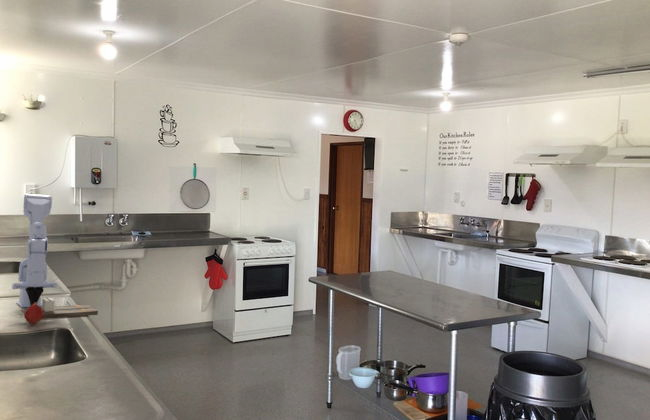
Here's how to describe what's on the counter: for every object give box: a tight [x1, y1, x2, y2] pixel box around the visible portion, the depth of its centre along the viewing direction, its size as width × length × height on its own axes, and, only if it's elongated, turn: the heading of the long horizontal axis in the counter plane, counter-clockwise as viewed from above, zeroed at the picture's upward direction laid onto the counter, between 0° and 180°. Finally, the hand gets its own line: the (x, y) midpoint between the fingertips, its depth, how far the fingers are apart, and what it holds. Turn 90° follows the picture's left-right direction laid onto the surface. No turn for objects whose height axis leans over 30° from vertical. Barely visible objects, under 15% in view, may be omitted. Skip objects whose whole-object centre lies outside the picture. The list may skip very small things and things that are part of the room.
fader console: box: [40, 304, 99, 320], centre depth 214 cm, size 12×21×2 cm, turn 130°
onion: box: [23, 302, 44, 326], centre depth 194 cm, size 6×6×8 cm
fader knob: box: [41, 297, 55, 312], centre depth 210 cm, size 5×3×4 cm, turn 40°
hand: (33, 307), depth 207 cm, fingers closed
